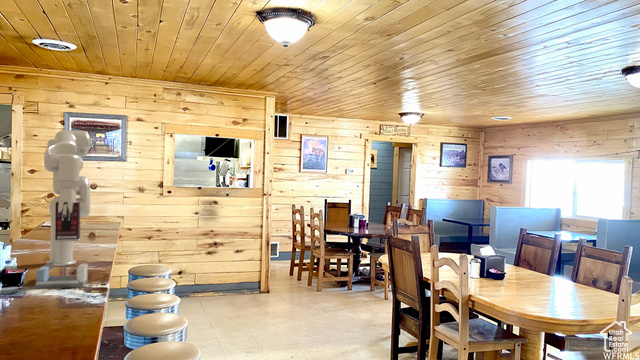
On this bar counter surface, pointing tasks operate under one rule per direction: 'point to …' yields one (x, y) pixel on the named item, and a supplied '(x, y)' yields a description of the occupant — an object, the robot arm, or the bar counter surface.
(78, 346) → the bar counter surface
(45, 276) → the sliding jaw
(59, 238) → the supplement box
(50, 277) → the vise bed
